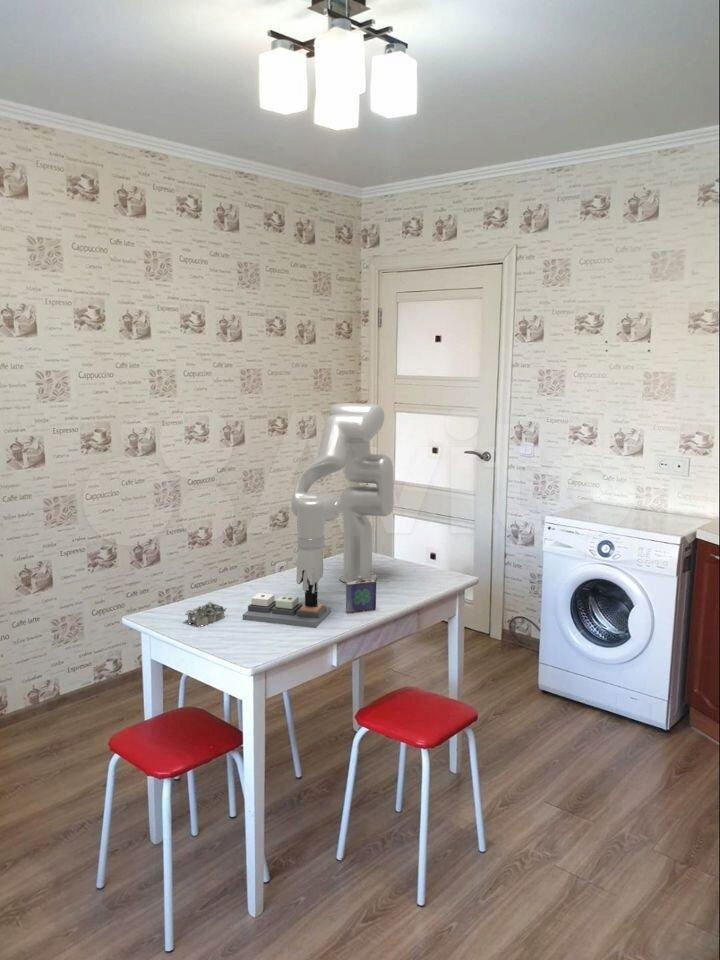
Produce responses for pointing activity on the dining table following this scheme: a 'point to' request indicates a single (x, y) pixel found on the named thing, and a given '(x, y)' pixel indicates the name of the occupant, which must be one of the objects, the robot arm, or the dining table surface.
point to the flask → (361, 595)
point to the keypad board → (286, 615)
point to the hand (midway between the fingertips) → (311, 605)
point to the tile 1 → (262, 599)
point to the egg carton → (205, 614)
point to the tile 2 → (287, 602)
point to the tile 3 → (311, 608)
